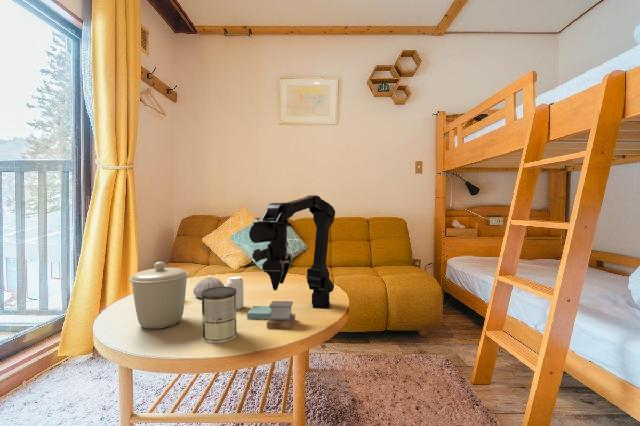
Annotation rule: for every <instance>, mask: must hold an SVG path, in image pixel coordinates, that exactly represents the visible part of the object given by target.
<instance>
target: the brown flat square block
mask: <svg viewBox="0 0 640 426" xmlns="http://www.w3.org/2000/svg"><path fill="white" fill-rule="evenodd" d="M295 321H296V314H294V313H293V317H292V319H291V321H270V319H267V321H266V329H273V330H274V329H276V330H277V329H278V330H279V329H280V330H284V329H285V330H292V328H293V327H294V324H295Z"/></svg>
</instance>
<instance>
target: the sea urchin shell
mask: <svg viewBox="0 0 640 426" xmlns="http://www.w3.org/2000/svg"><path fill="white" fill-rule="evenodd" d="M213 287H226V285H224V283H223V282H222V280H220V279H219V278H217V277H213V276H212V277H211V276H210V277H205V278H203V279H201V280H200V281H199V282H197V284H196V285H195V286H194V288H193V290H192V291H193V293H192V294H193V295H194V296H195V297H197V298H199V299H202V296H201V292H202V291H204V290H206V289H209V288H213Z"/></svg>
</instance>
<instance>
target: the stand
mask: <svg viewBox="0 0 640 426" xmlns="http://www.w3.org/2000/svg"><path fill="white" fill-rule="evenodd" d="M246 317H247V320H269V318H270V317H271V308H269V305H267V306H266V305H253V306H252V307H251V308H250V309H249V311H247V313H246Z"/></svg>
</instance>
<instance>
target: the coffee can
mask: <svg viewBox="0 0 640 426" xmlns="http://www.w3.org/2000/svg"><path fill="white" fill-rule="evenodd" d="M201 296H202V298H201V321H202V322H201V323H202V324H201V326H202V327H201V328H202V330H201V331H202V337H201V338H202V340H203V342H206V343H208V344H221V343H225V342H229V341H231V340H233V339H235V338H236V337H237V335H238V332H237V331H238V330H237V329H238V327H237V321H238V320H237V310H236V289H235V288H233V287H227V286H225V287H213V288H209V289H206V290H204V291H202V292H201Z"/></svg>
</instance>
